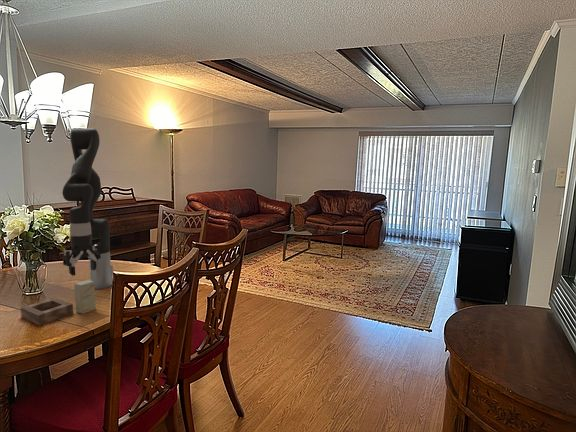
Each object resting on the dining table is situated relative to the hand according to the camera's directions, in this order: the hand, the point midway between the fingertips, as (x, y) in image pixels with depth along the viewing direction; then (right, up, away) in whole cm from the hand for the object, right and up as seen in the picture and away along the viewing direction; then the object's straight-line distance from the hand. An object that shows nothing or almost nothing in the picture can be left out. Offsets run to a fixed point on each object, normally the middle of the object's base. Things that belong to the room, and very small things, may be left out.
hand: (83, 272), depth 155 cm
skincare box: (0, -16, +3) cm, 17 cm away
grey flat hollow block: (-13, -17, -3) cm, 21 cm away
